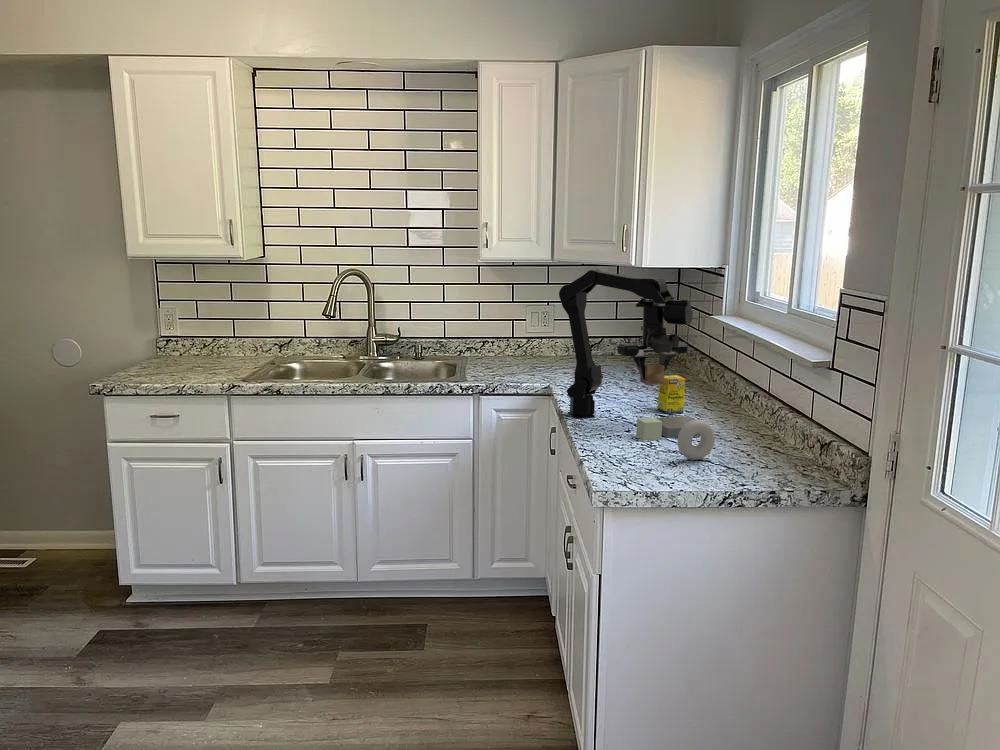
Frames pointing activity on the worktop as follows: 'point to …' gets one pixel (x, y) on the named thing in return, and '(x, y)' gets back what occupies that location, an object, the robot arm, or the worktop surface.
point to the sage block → (649, 428)
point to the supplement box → (671, 395)
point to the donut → (705, 442)
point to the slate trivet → (674, 425)
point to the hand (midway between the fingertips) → (652, 378)
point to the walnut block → (653, 374)
